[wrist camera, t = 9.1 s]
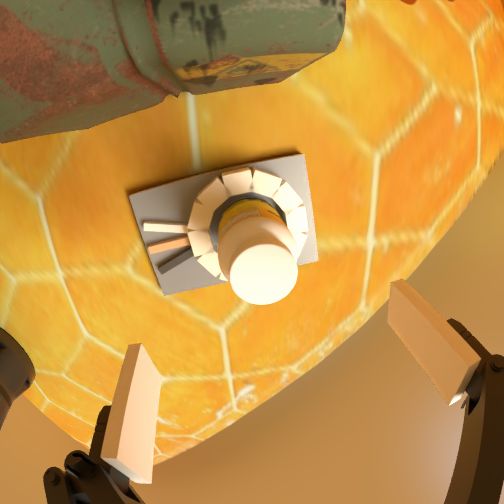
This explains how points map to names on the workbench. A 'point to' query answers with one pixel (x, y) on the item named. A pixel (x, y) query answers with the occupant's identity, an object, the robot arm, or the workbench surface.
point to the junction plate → (218, 217)
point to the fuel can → (146, 54)
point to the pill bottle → (256, 251)
